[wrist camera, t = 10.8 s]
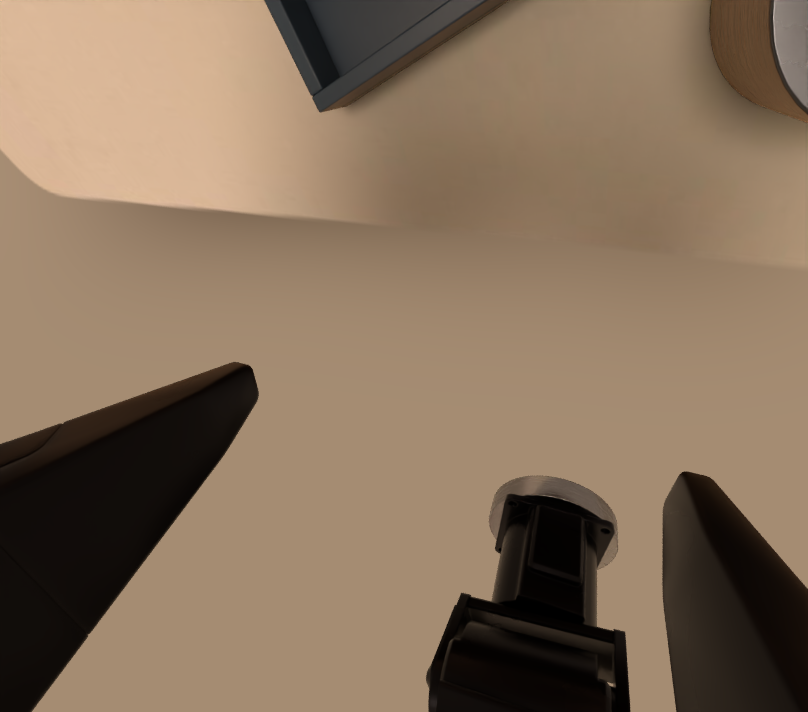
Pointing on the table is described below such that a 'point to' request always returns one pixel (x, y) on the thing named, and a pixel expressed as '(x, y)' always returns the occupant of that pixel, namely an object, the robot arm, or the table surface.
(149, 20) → the table surface
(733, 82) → the grey tin
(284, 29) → the tray
